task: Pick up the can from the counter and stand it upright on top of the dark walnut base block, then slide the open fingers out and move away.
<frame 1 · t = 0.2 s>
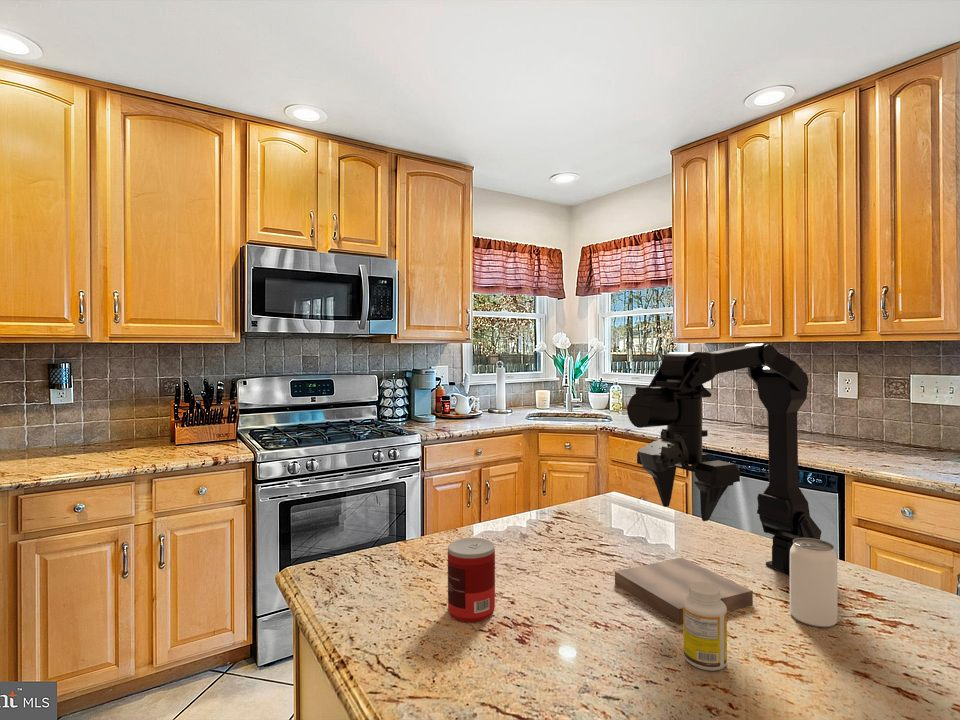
hand: (684, 513, 94), 14 cm above the counter, tool pointing down, fingers open, 9 cm apart
can: (812, 619, 86), on the counter
supplement bottle: (704, 662, 74), on the counter
base: (680, 594, 95), on the counter
canned food: (471, 613, 89), on the counter
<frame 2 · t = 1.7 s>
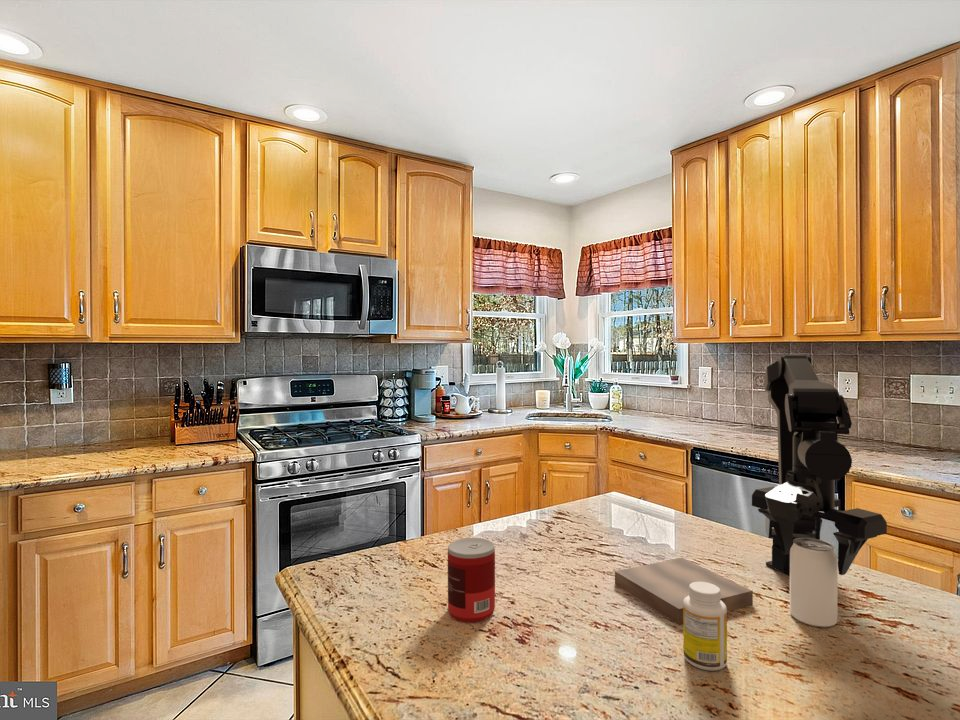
hand: (812, 563, 86), 9 cm above the counter, tool pointing down, fingers open, 9 cm apart
nothing on the counter moved.
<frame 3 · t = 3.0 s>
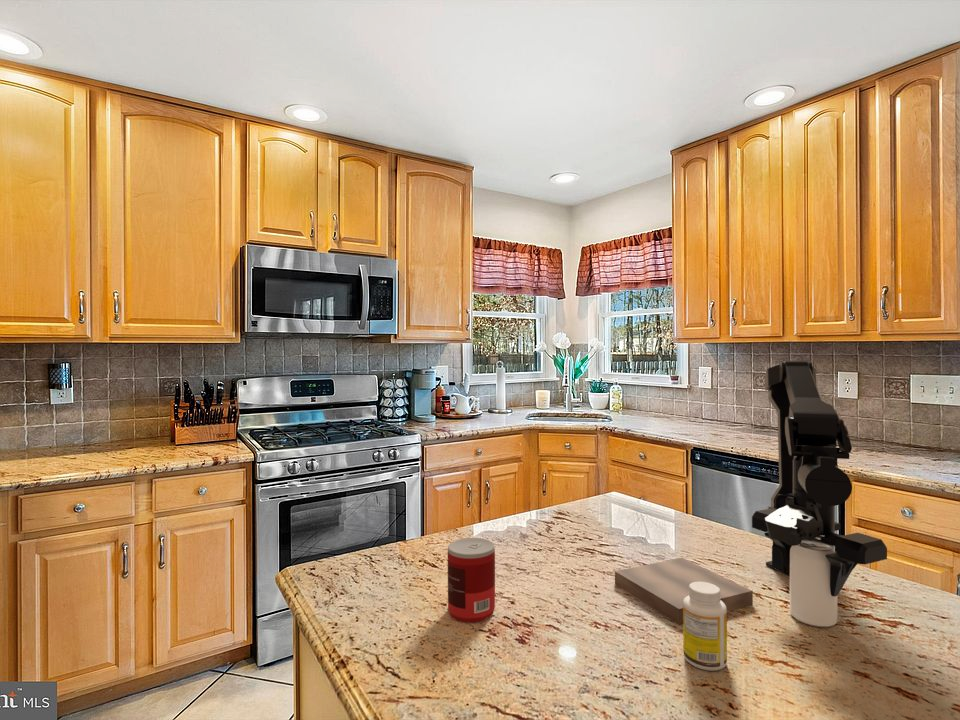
hand: (813, 587, 86), 5 cm above the counter, tool pointing down, fingers closed on can, 6 cm apart
can: (812, 619, 86), on the counter, touching gripper
everything else where it was.
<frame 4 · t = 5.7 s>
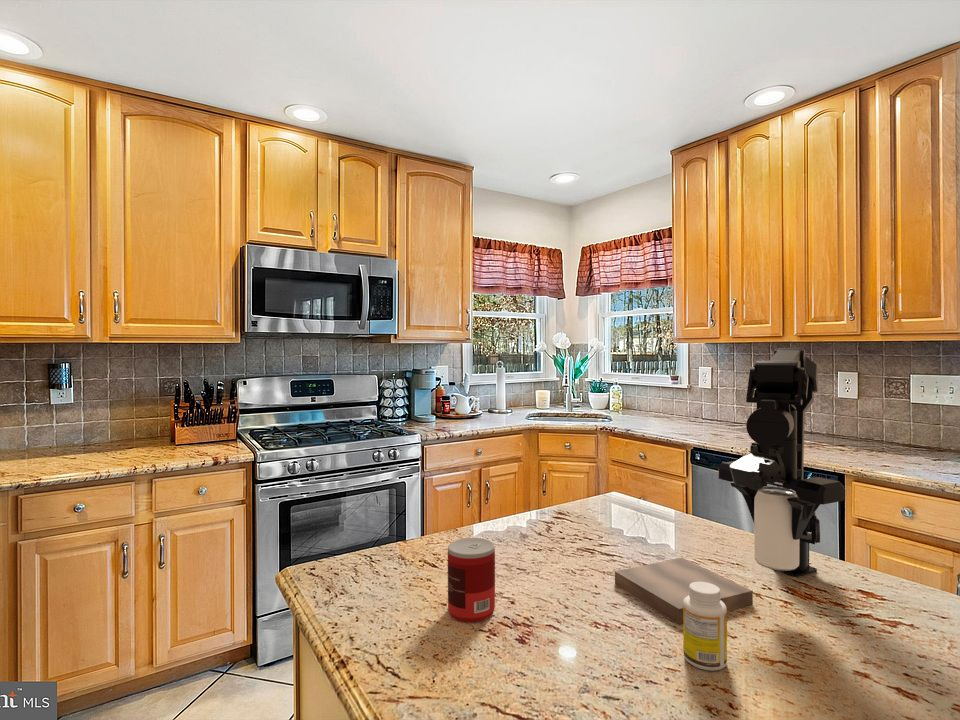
hand: (776, 532, 88), 13 cm above the counter, tool pointing down, fingers closed on can, 6 cm apart
can: (776, 564, 88), point 8 cm above the counter, touching gripper
everything else where it was.
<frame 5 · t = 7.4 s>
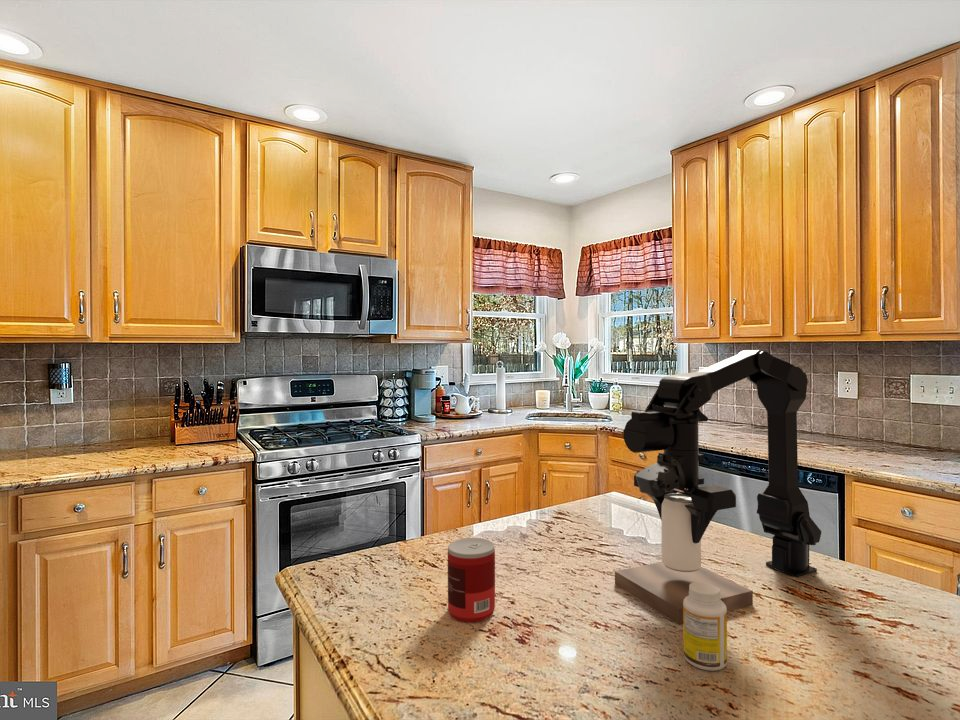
hand: (681, 536, 95), 10 cm above the counter, tool pointing down, fingers closed on can, 6 cm apart
can: (681, 566, 95), point 5 cm above the counter, touching gripper
everything else where it was.
when the fingers open (9 cm above the counter, at t = 8.6 s): can drops 1 cm, resting on base.
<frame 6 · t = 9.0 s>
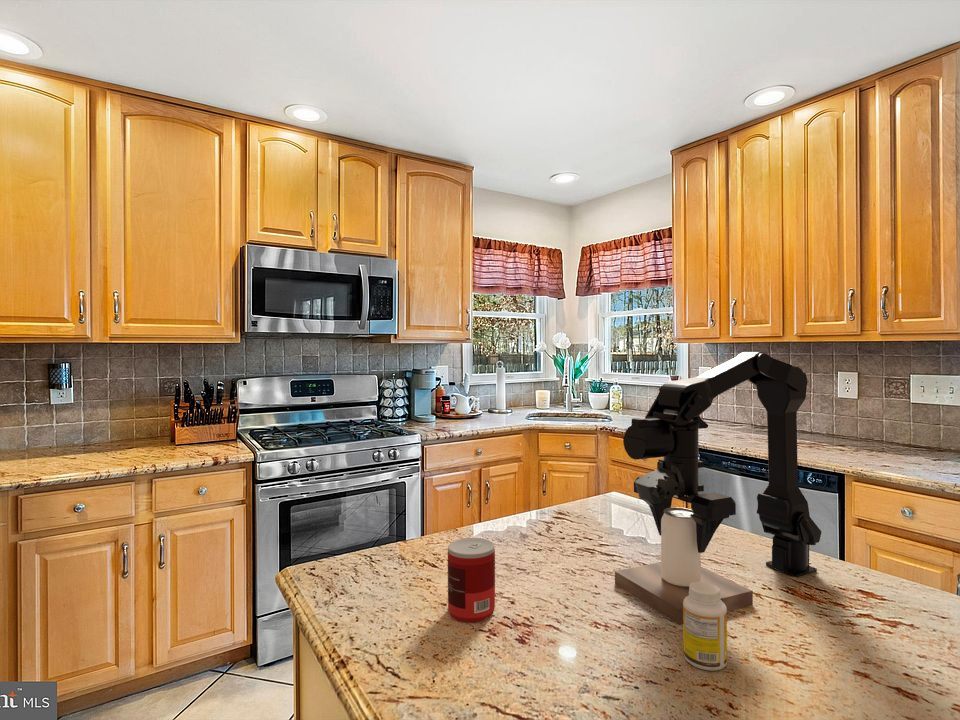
hand: (680, 543, 95), 9 cm above the counter, tool pointing down, fingers open, 9 cm apart
can: (680, 581, 95), point 2 cm above the counter, touching base
everything else where it was.
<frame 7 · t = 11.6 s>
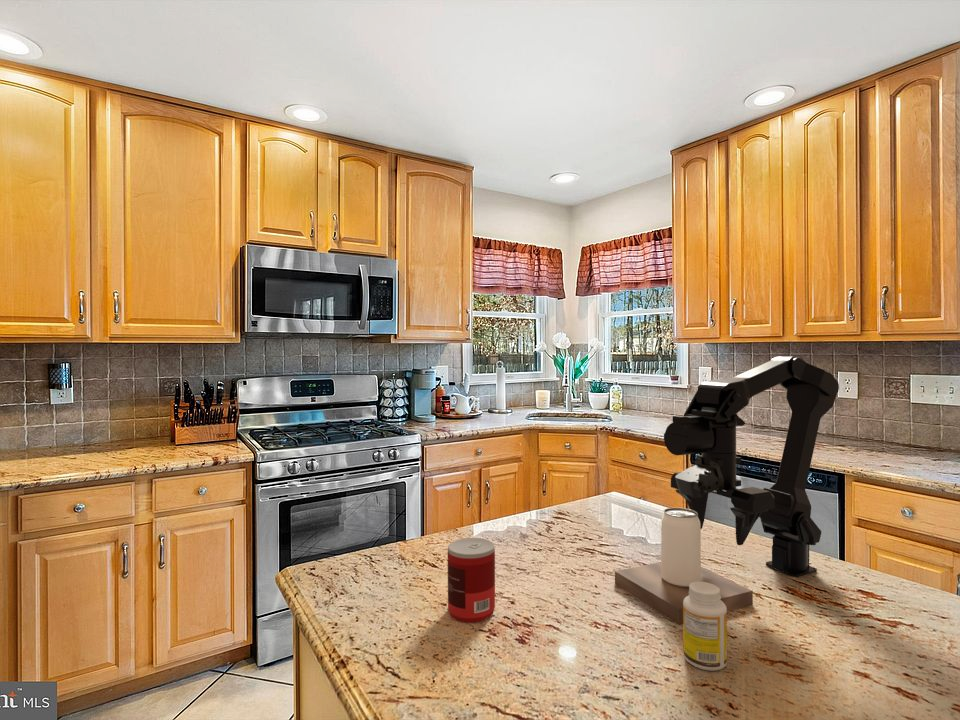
hand: (718, 536, 98), 9 cm above the counter, tool pointing down, fingers open, 9 cm apart
nothing on the counter moved.
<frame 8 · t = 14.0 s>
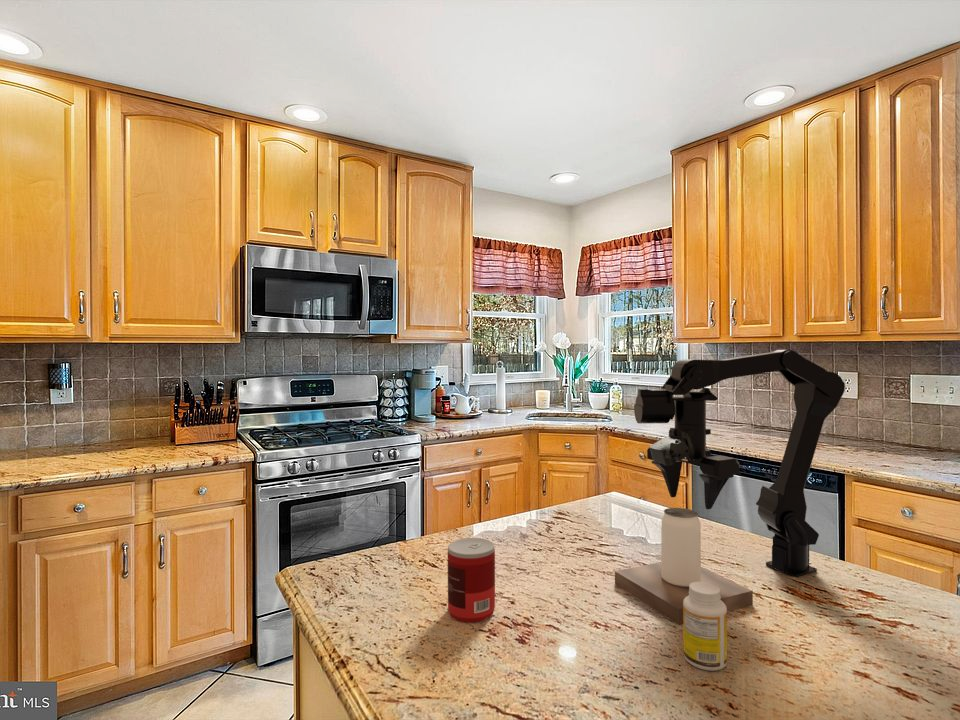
hand: (690, 502, 106), 13 cm above the counter, tool pointing down, fingers open, 9 cm apart
nothing on the counter moved.
at the end: can inside the target area on the base (0.0 cm from its centre), point 2.3 cm above the base's base; can tilted 0°; the gripper is holding nothing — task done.
